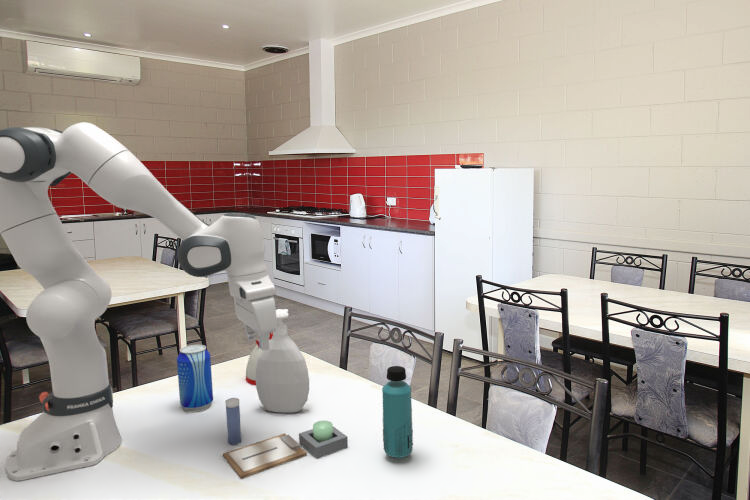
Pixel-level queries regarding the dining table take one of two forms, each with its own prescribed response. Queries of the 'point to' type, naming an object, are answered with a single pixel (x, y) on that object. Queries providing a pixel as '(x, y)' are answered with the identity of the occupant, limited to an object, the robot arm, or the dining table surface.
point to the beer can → (194, 378)
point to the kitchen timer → (253, 363)
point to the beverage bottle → (397, 414)
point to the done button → (322, 431)
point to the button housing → (323, 443)
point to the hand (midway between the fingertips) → (258, 344)
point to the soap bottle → (282, 372)
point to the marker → (233, 421)
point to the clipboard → (264, 455)
